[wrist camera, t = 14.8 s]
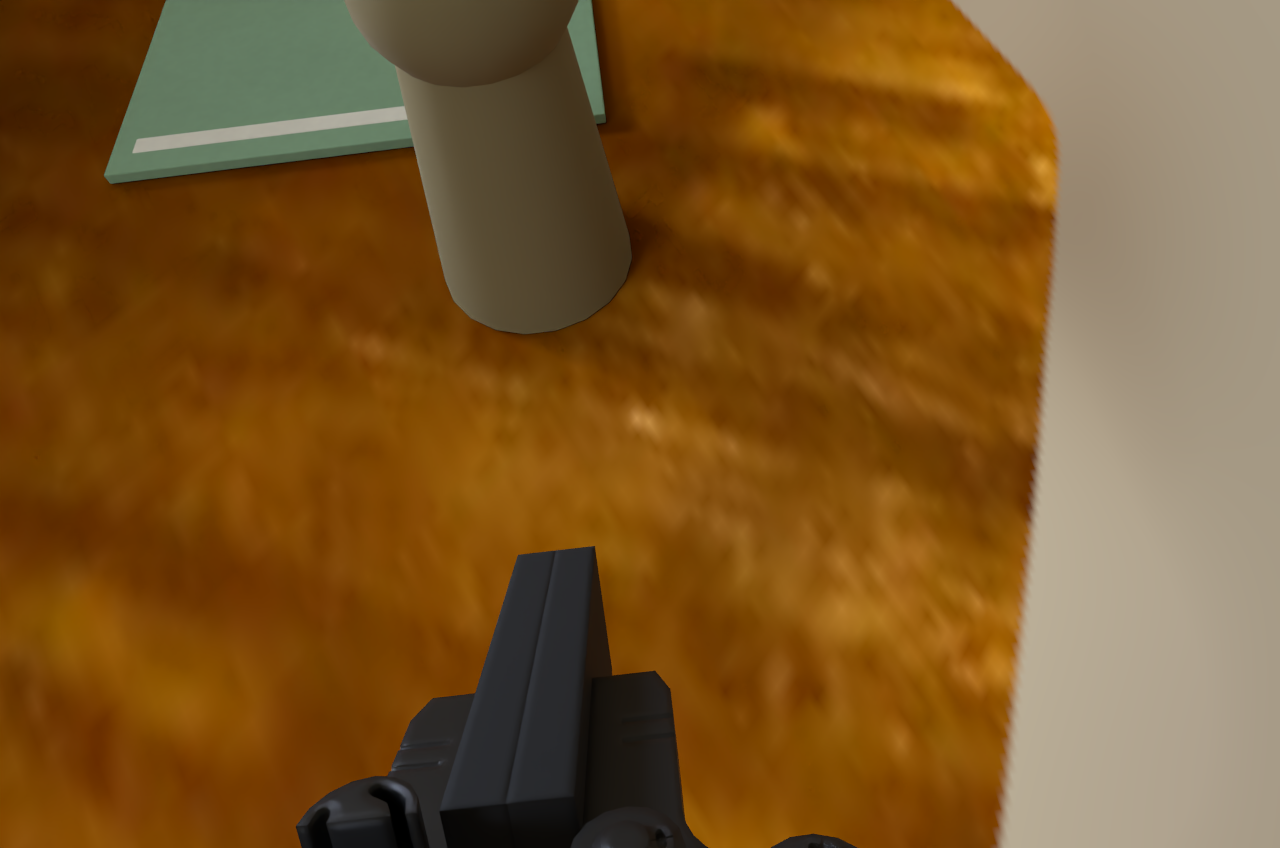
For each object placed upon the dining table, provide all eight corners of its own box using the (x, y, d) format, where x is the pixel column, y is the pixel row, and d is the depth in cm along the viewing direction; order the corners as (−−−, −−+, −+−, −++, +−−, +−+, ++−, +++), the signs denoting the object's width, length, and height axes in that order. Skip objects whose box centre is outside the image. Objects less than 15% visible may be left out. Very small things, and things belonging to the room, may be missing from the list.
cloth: (584, -60, 33) (583, -70, 33) (606, 123, 27) (604, 113, 27) (177, -9, 33) (171, -19, 33) (110, 184, 27) (102, 175, 27)
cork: (497, 367, 22) (347, 0, 13) (414, 242, 25) (238, -139, 15) (668, 274, 24) (650, -122, 14) (572, 164, 26) (501, -230, 17)
